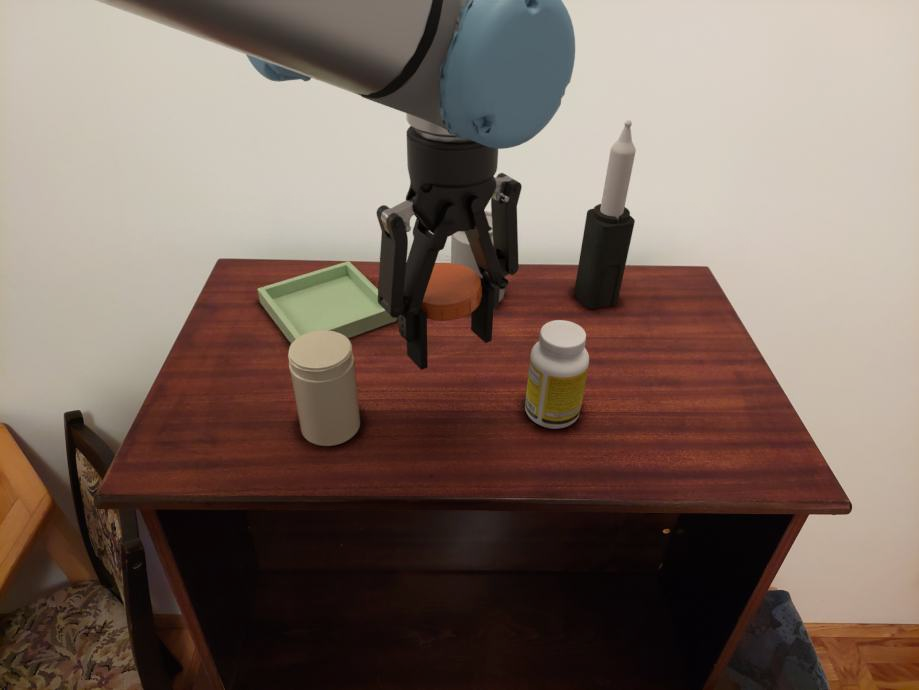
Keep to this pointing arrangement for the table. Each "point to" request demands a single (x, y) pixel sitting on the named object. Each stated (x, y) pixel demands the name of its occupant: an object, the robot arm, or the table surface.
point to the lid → (451, 292)
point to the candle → (607, 232)
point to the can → (468, 250)
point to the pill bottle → (557, 375)
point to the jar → (325, 387)
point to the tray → (325, 303)
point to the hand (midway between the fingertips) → (450, 347)
